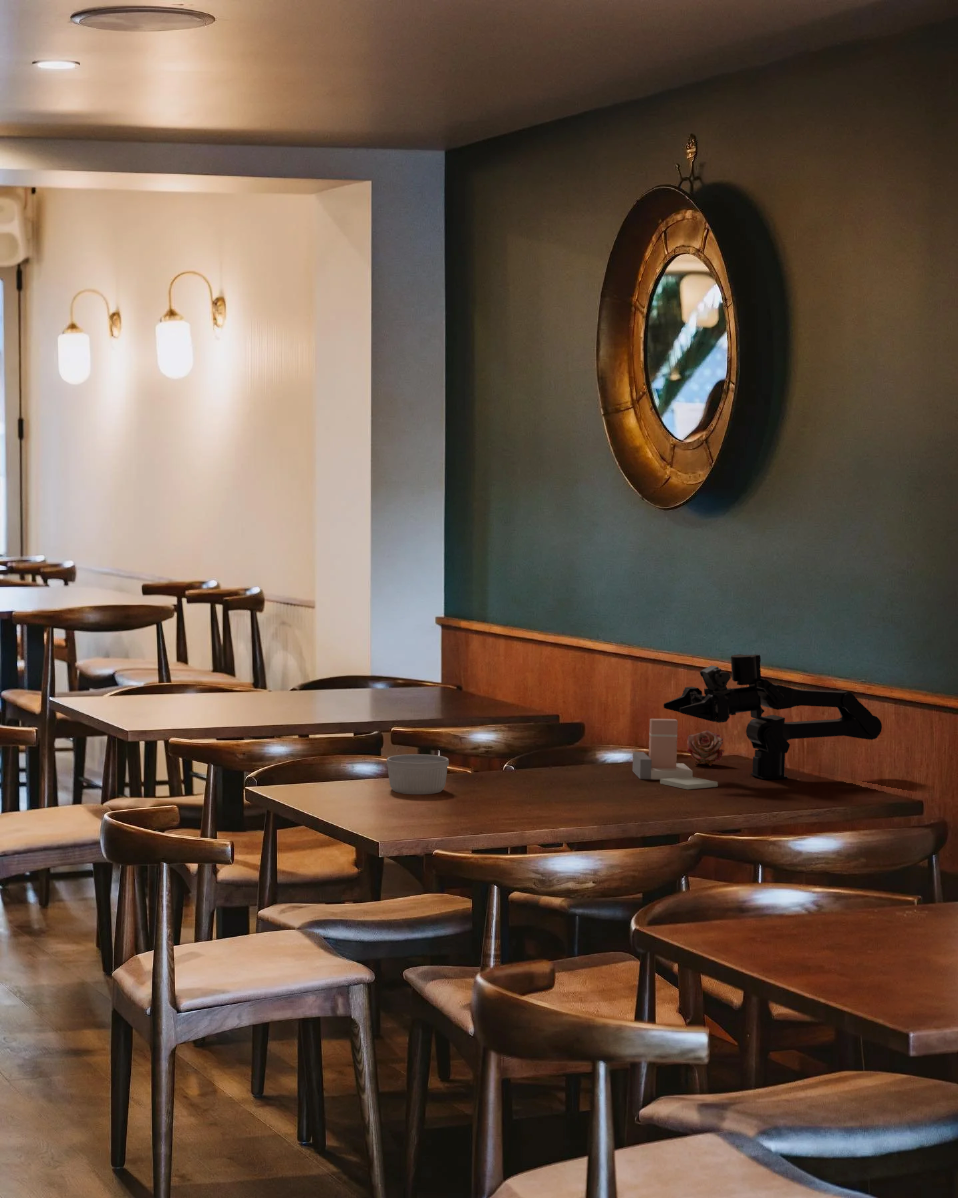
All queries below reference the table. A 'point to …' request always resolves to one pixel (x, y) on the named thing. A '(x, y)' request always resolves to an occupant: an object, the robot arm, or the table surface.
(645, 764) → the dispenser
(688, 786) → the pad
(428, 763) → the ramekin
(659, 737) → the banded beige post
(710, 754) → the flower
